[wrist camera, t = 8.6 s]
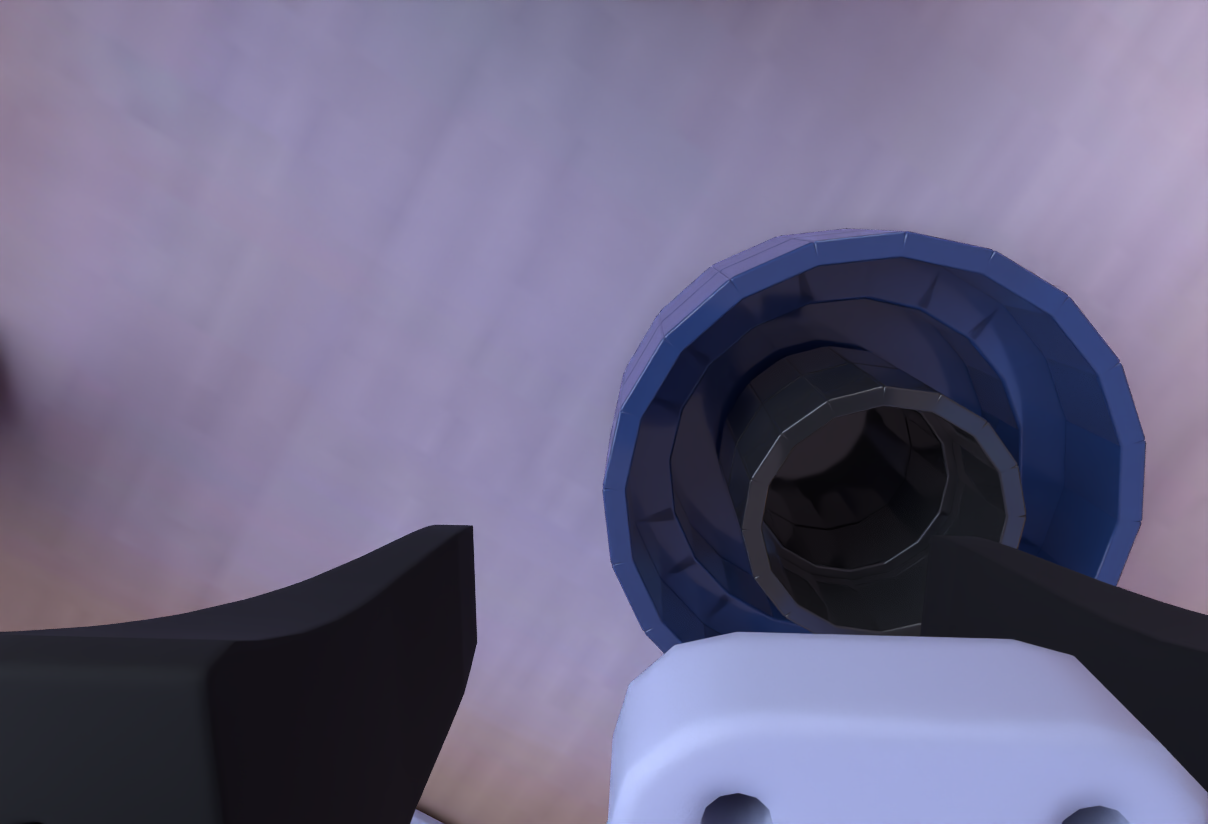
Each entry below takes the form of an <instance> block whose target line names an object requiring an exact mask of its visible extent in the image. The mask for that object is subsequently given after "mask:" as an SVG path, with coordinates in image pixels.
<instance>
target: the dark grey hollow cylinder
mask: <svg viewBox="0 0 1208 824" xmlns="http://www.w3.org/2000/svg"><path fill="white" fill-rule="evenodd" d="M719 458H720V459H719V462H720V466H721V470H722V474H723V478H724V482H725V486H726V490H727V494H728V497H729V501H730V504H731V507H732V510H733V514H734V517H735V520H736V524H737V527H738V530H739V534H740V537H741V540H742V543H743V547H744V550H745V553H746V556H747V560H748V563H749V566H750V569H751V573H752V576H753V577H754V580H755V581H756V582H757V584H758V585H759V586H760V587H761V589H762V590H763V591H764V593H765V594H766V595H767V596H768V598H769V599H770V600H771V601H772V603H773V604H774V605H775V606H776V608H777V609H778V610H779V612H780V613H781V614H782V615H783V616H785V618H787V619H788V620H790V621H792V622H794V623H796V624H797V625H799V626H801V627H803V628H805V629H806V630H808V631H810V632H812V633H814V634H839V635H877V636H915V637H920V631H921V622H922V613H923V603H924V594H925V585H926V575H927V566H928V556H929V547H930V538H931V535H943V536H974V537H979V538H984V539H988V540H991V541H995V542H998V543H1001V544H1004V545H1007V546H1010V547H1013V548H1015V549H1018V547H1019V543H1020V539H1021V536H1022V532H1023V528H1024V525H1025V521H1026V508H1025V502H1024V496H1023V490H1022V484H1021V477H1020V471H1019V466H1018V465H1017V462H1016V460H1015V459H1014V457H1013V456H1012V454H1011V453H1010V451H1009V450H1008V449H1007V447H1006V446H1005V444H1004V443H1003V441H1002V440H1001V438H1000V437H999V436H998V434H997V433H996V431H995V430H994V428H993V427H992V426H991V424H990V423H989V422H987V420H986V419H984V418H983V417H981V416H979V415H978V414H976V413H974V412H972V411H971V410H969V409H967V408H966V407H964V406H962V405H961V404H959V403H957V402H956V401H954V400H952V399H950V398H949V397H947V396H945V395H944V394H942V393H940V392H939V391H937V390H935V389H933V388H932V387H930V386H928V385H927V384H925V383H923V382H922V381H920V380H918V379H916V378H915V377H913V376H911V375H910V374H908V373H906V372H904V371H903V370H901V369H899V368H898V367H896V366H894V365H893V364H891V363H889V362H887V361H886V360H884V359H882V358H881V357H879V356H877V355H875V354H874V353H870V352H868V351H863V350H855V349H848V348H840V347H833V346H828V347H820V348H816V349H813V350H809V351H805V352H801V353H797V354H793V355H789V356H786V357H785V359H784V358H782V359H780V360H779V361H777V362H776V363H775V364H773V365H772V366H770V367H769V368H768V369H766V370H765V371H764V372H762V373H761V374H759V375H758V376H757V377H755V378H754V379H752V380H751V381H750V384H748V385H746V387H745V388H744V390H743V392H742V393H741V395H740V396H739V398H738V399H737V401H736V403H735V404H734V406H733V407H732V409H731V411H730V412H729V414H728V415H727V419H726V420H725V424H724V430H723V436H722V442H721V448H720V454H719Z"/></svg>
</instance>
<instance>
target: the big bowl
mask: <svg viewBox="0 0 1208 824" xmlns="http://www.w3.org/2000/svg"><path fill="white" fill-rule="evenodd" d="M828 346H833V347H840V348H848V349H855V350H863V351H868V352H870V353H874V354H875V355H877V356H879V357H881V358H882V359H884V360H886V361H887V362H889V363H891V364H893V365H894V366H896V367H898V368H899V369H901V370H903V371H904V372H906V373H908V374H910V375H911V376H913V377H915V378H916V379H918V380H920V381H922V382H923V383H925V384H927V385H928V386H930V387H932V388H933V389H935V390H937V391H939V392H940V393H942V394H944V395H945V396H947V397H949V398H950V399H952V400H954V401H956V402H957V403H959V404H961V405H962V406H964V407H966V408H967V409H969V410H971V411H972V412H974V413H976V414H978V415H979V416H981V417H983V418H984V419H986V420H987V422H989V423H990V424H991V426H992V427H993V428H994V430H995V431H996V433H997V434H998V436H999V437H1000V438H1001V440H1002V441H1003V443H1004V444H1005V446H1006V447H1007V449H1008V450H1009V451H1010V453H1011V454H1012V456H1013V457H1014V459H1015V460H1016V462H1017V465H1018V466H1019V471H1020V477H1021V484H1022V490H1023V496H1024V502H1025V508H1026V521H1025V525H1024V528H1023V532H1022V536H1021V539H1020V543H1019V547H1018V550H1021V551H1024V552H1026V553H1029V554H1031V555H1034V556H1037V557H1039V558H1042V559H1045V560H1047V561H1050V562H1052V563H1055V564H1058V565H1060V566H1063V567H1065V568H1068V569H1071V570H1073V571H1076V572H1078V573H1081V574H1084V575H1086V576H1089V577H1092V578H1094V579H1097V580H1100V581H1102V582H1105V583H1108V584H1111V585H1113V586H1117V584H1118V581H1119V579H1120V576H1121V574H1122V571H1123V568H1124V566H1125V563H1126V561H1127V558H1128V556H1129V553H1130V551H1131V548H1132V546H1133V543H1134V541H1135V538H1136V536H1137V533H1138V531H1139V528H1140V526H1141V521H1142V514H1143V493H1144V473H1145V452H1146V442H1145V441H1144V440H1145V436H1144V433H1143V430H1142V427H1141V424H1140V420H1139V417H1138V414H1137V411H1136V408H1135V405H1134V401H1133V398H1132V395H1131V392H1130V389H1129V385H1128V382H1127V379H1126V376H1125V373H1124V369H1123V366H1122V364H1121V363H1120V360H1119V359H1118V357H1117V356H1116V355H1115V353H1114V352H1113V351H1112V350H1111V348H1110V347H1109V346H1108V345H1107V343H1106V342H1105V341H1104V339H1103V338H1102V337H1101V336H1100V334H1099V333H1098V332H1097V331H1096V329H1095V328H1094V327H1093V325H1092V324H1091V323H1090V322H1089V320H1088V319H1087V318H1086V317H1085V315H1084V314H1083V313H1082V311H1081V310H1080V309H1079V308H1078V306H1077V305H1076V304H1075V303H1074V301H1073V300H1072V299H1071V298H1070V297H1068V295H1067V294H1066V293H1064V292H1063V291H1061V290H1059V289H1058V288H1056V287H1055V286H1053V285H1051V284H1050V283H1048V282H1046V281H1045V280H1043V279H1041V278H1040V277H1038V276H1037V275H1035V274H1033V273H1032V272H1030V271H1028V270H1027V269H1025V268H1023V267H1022V266H1020V265H1019V264H1017V263H1015V262H1014V261H1012V260H1010V259H1009V258H1007V257H1006V256H1004V255H1002V254H1001V253H999V252H997V251H993V250H992V249H989V248H984V247H979V246H975V245H970V244H965V243H961V242H956V241H951V240H947V239H942V238H937V237H933V236H928V235H923V234H919V233H914V232H909V231H892V230H869V229H849V228H845V229H836V230H827V231H818V232H809V233H800V234H790V235H781V236H779V237H774V238H772V239H769V240H767V241H765V242H763V243H760V244H758V245H756V246H754V247H751V248H749V249H747V250H745V251H742V252H740V253H738V254H736V255H733V256H731V257H729V258H727V259H724V260H722V261H720V262H718V263H715V264H713V265H712V267H709V268H708V269H707V270H706V271H704V272H703V273H702V274H701V275H700V276H699V277H698V278H697V279H695V280H694V281H693V282H692V283H691V284H690V285H689V286H688V287H686V288H685V289H684V290H683V291H682V292H681V293H680V294H679V295H677V296H676V297H675V298H674V299H673V300H672V301H671V302H670V303H668V304H667V305H666V306H665V307H664V308H663V309H662V310H661V311H660V314H658V315H657V316H656V318H655V319H654V321H653V323H652V325H651V326H650V328H649V330H648V331H647V333H646V335H645V336H644V338H643V340H642V341H641V343H640V345H639V347H638V348H637V350H636V352H635V353H634V355H633V357H632V358H631V360H630V362H629V364H628V365H627V367H626V370H625V372H624V373H623V378H622V383H621V387H620V392H619V396H618V401H617V406H616V410H615V415H614V419H613V424H612V429H611V433H610V440H609V447H608V453H607V460H606V467H605V474H604V480H603V500H604V509H605V517H606V526H607V534H608V543H609V552H610V560H611V563H612V568H613V570H614V572H615V574H616V576H617V578H618V580H619V582H620V584H621V586H622V588H623V591H624V593H625V595H626V597H627V599H628V601H629V603H630V605H631V607H632V609H633V611H634V613H635V616H636V618H637V620H638V622H639V624H640V626H641V628H642V630H643V631H645V634H646V635H647V636H648V637H649V638H650V639H651V640H652V641H653V642H654V643H655V644H656V646H657V647H658V648H659V649H660V650H661V651H662V652H663V653H664V654H665V653H666V652H667V651H668V650H669V649H671V648H672V647H673V646H674V645H677V644H682V643H687V642H691V641H696V640H701V639H705V638H710V637H715V636H720V635H724V634H729V633H734V632H763V633H801V634H814V633H812V632H810V631H808V630H806V629H805V628H803V627H801V626H799V625H797V624H796V623H794V622H792V621H790V620H788V619H787V618H785V616H783V615H782V614H781V613H780V612H779V610H778V609H777V608H776V606H775V605H774V604H773V603H772V601H771V600H770V599H769V598H768V596H767V595H766V594H765V593H764V591H763V590H762V589H761V587H760V586H759V585H758V584H757V582H756V581H755V580H754V577H753V576H752V573H751V569H750V566H749V563H748V560H747V556H746V553H745V550H744V547H743V543H742V540H741V537H740V534H739V530H738V527H737V524H736V520H735V517H734V514H733V510H732V507H731V504H730V501H729V497H728V494H727V490H726V486H725V482H724V478H723V474H722V470H721V466H720V462H719V459H720V458H719V454H720V448H721V442H722V436H723V430H724V424H725V420H726V419H727V415H728V414H729V412H730V411H731V409H732V407H733V406H734V404H735V403H736V401H737V399H738V398H739V396H740V395H741V393H742V392H743V390H744V388H745V387H746V385H748V384H750V381H751V380H752V379H754V378H755V377H757V376H758V375H759V374H761V373H762V372H764V371H765V370H766V369H768V368H769V367H770V366H772V365H773V364H775V363H776V362H777V361H779V360H780V359H782V358H784V359H785V357H786V356H789V355H793V354H797V353H801V352H805V351H809V350H813V349H816V348H820V347H828Z"/></svg>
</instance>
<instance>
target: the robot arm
mask: <svg viewBox="0 0 1208 824" xmlns="http://www.w3.org/2000/svg"><path fill="white" fill-rule="evenodd" d="M476 645H477V626H476V598H475V571H474V543H473V526H468V525H432V526H428V527H425V528H422V529H420V530H417V531H415V532H412V533H410V534H408V535H406V536H404V537H402V538H400V539H397V540H395V541H393V542H391V543H389V544H387V545H385V546H383V547H381V548H379V549H376V550H374V551H372V552H370V553H368V554H366V555H364V556H362V557H360V558H357V559H355V560H353V561H350V562H348V563H346V564H343V565H341V566H339V567H336V568H334V569H332V570H329V571H327V572H325V573H322V574H320V575H318V576H315V577H313V578H310V579H307V580H305V581H302V582H299V583H296V584H294V585H291V586H288V587H285V588H282V589H279V590H275V591H272V592H269V593H266V594H262V595H259V596H256V597H252V598H249V599H245V600H241V601H237V602H232V603H228V604H224V605H219V606H215V607H210V608H206V609H202V610H197V611H193V612H189V613H184V614H178V615H172V616H166V617H160V618H154V619H148V620H141V621H133V622H125V623H118V624H110V625H100V626H90V627H77V628H61V629H46V630H31V631H14V632H0V824H444V823H442V822H440V821H438V820H436V819H434V818H432V817H430V816H428V815H426V814H424V813H422V812H420V811H419V810H417V809H416V807H417V804H418V802H419V800H420V797H421V795H422V793H423V790H424V788H425V786H426V783H427V781H428V778H429V776H430V774H431V771H432V769H433V767H434V764H435V762H436V760H437V757H438V755H439V753H440V750H441V748H442V746H443V743H444V741H445V738H446V736H447V734H448V731H449V729H450V727H451V724H452V722H453V719H454V717H455V715H456V712H457V710H458V707H459V705H460V702H461V700H462V697H463V695H464V692H465V688H466V685H467V681H468V677H469V673H470V670H471V665H472V661H473V657H474V653H475V649H476ZM606 824H1208V615H1205V614H1201V613H1198V612H1194V611H1190V610H1187V609H1183V608H1180V607H1177V606H1173V605H1170V604H1167V603H1164V602H1160V601H1157V600H1154V599H1151V598H1148V597H1146V596H1143V595H1140V594H1137V593H1134V592H1131V591H1128V590H1125V589H1122V588H1119V587H1116V586H1113V585H1111V584H1108V583H1105V582H1102V581H1100V580H1097V579H1094V578H1092V577H1089V576H1086V575H1084V574H1081V573H1078V572H1076V571H1073V570H1071V569H1068V568H1065V567H1063V566H1060V565H1058V564H1055V563H1052V562H1050V561H1047V560H1045V559H1042V558H1039V557H1037V556H1034V555H1031V554H1029V553H1026V552H1024V551H1021V550H1018V549H1015V548H1013V547H1010V546H1007V545H1004V544H1001V543H998V542H995V541H991V540H988V539H984V538H979V537H974V536H943V535H931V538H930V547H929V556H928V566H927V575H926V585H925V594H924V603H923V613H922V622H921V631H920V637H915V636H877V635H839V634H801V633H763V632H734V633H729V634H724V635H720V636H715V637H710V638H705V639H701V640H696V641H691V642H687V643H682V644H677V645H674V646H673V647H672V648H671V649H669V650H668V651H667V652H666V653H665V654H664V655H662V656H661V657H660V658H659V659H658V660H657V661H655V662H654V663H653V664H652V665H651V666H650V667H648V668H647V669H646V670H645V671H644V672H643V673H641V674H640V675H639V676H638V677H637V678H635V679H634V680H633V681H632V682H631V683H630V684H629V686H628V690H627V693H626V696H625V699H624V702H623V705H622V709H621V712H620V715H619V718H618V721H617V724H616V728H615V731H614V734H613V742H612V760H611V779H610V797H609V815H608V821H607V823H606Z"/></svg>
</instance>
